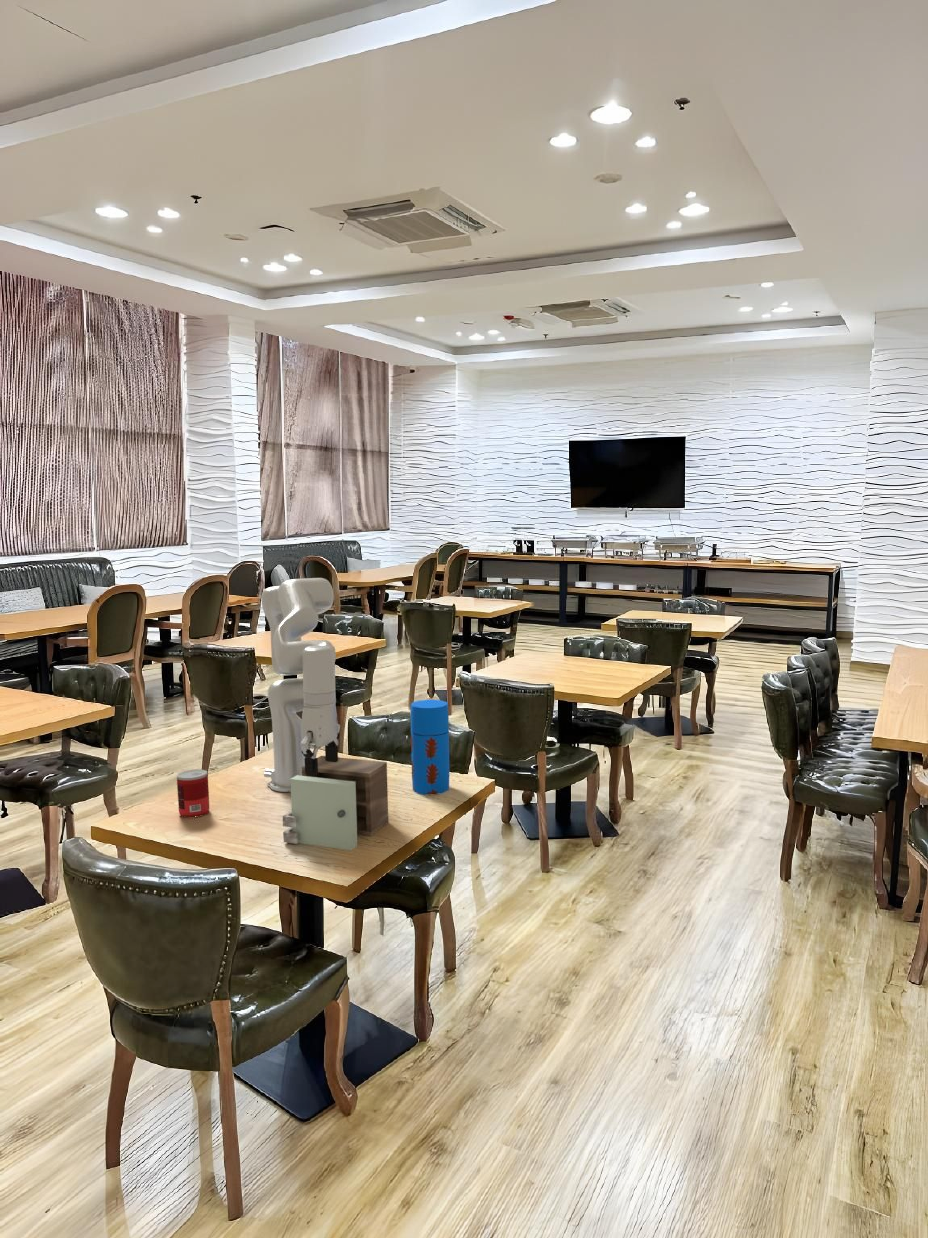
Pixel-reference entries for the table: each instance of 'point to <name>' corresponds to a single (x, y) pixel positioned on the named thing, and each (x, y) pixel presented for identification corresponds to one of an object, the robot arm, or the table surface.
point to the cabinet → (368, 793)
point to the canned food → (193, 792)
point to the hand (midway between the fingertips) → (321, 767)
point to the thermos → (430, 746)
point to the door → (324, 811)
